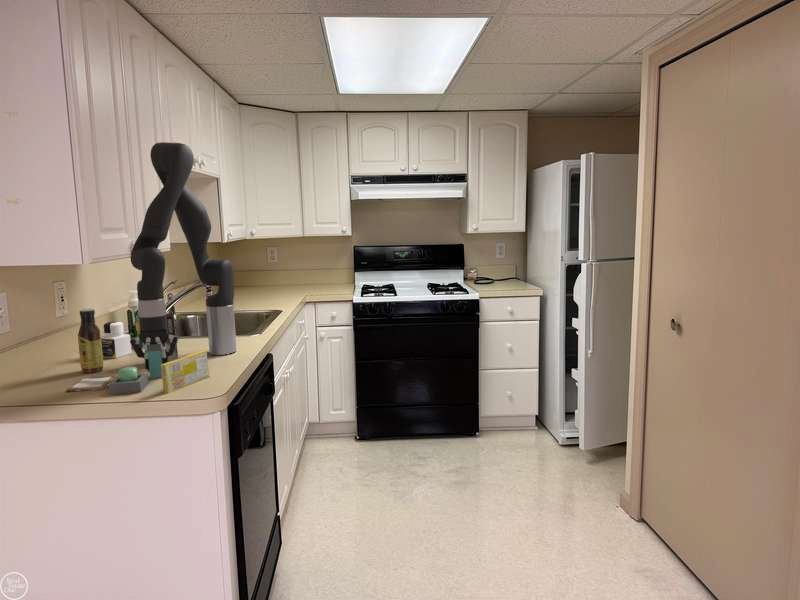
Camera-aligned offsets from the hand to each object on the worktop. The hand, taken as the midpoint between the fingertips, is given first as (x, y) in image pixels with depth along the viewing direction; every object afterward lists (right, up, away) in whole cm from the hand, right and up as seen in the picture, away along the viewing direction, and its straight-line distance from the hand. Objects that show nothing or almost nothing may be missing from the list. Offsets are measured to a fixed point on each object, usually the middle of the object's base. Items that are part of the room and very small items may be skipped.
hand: (157, 369), depth 159 cm
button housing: (-3, -4, -11) cm, 12 cm away
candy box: (+12, -4, -8) cm, 15 cm away
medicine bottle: (-27, +1, +27) cm, 38 cm away
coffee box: (-5, 0, +16) cm, 17 cm away
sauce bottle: (-24, -2, +7) cm, 25 cm away
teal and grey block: (0, -2, 0) cm, 2 cm away
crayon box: (-22, +3, +40) cm, 46 cm away
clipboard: (-16, -4, -7) cm, 18 cm away
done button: (-3, -2, -12) cm, 12 cm away
